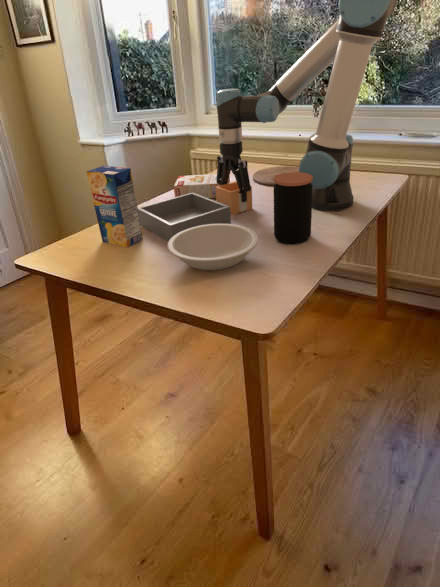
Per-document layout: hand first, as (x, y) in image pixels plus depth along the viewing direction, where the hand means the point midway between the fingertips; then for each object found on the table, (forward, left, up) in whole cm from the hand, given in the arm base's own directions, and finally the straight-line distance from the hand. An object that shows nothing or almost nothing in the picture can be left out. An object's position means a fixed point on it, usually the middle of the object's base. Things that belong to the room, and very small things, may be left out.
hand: (234, 207), depth 152 cm
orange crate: (0, 0, -1) cm, 1 cm away
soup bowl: (-30, +30, -1) cm, 42 cm away
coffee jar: (-33, +4, -1) cm, 33 cm away
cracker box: (+17, -11, +3) cm, 20 cm away
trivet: (+15, -38, -1) cm, 41 cm away
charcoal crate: (0, +21, 0) cm, 21 cm away
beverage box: (+3, +42, -1) cm, 42 cm away
